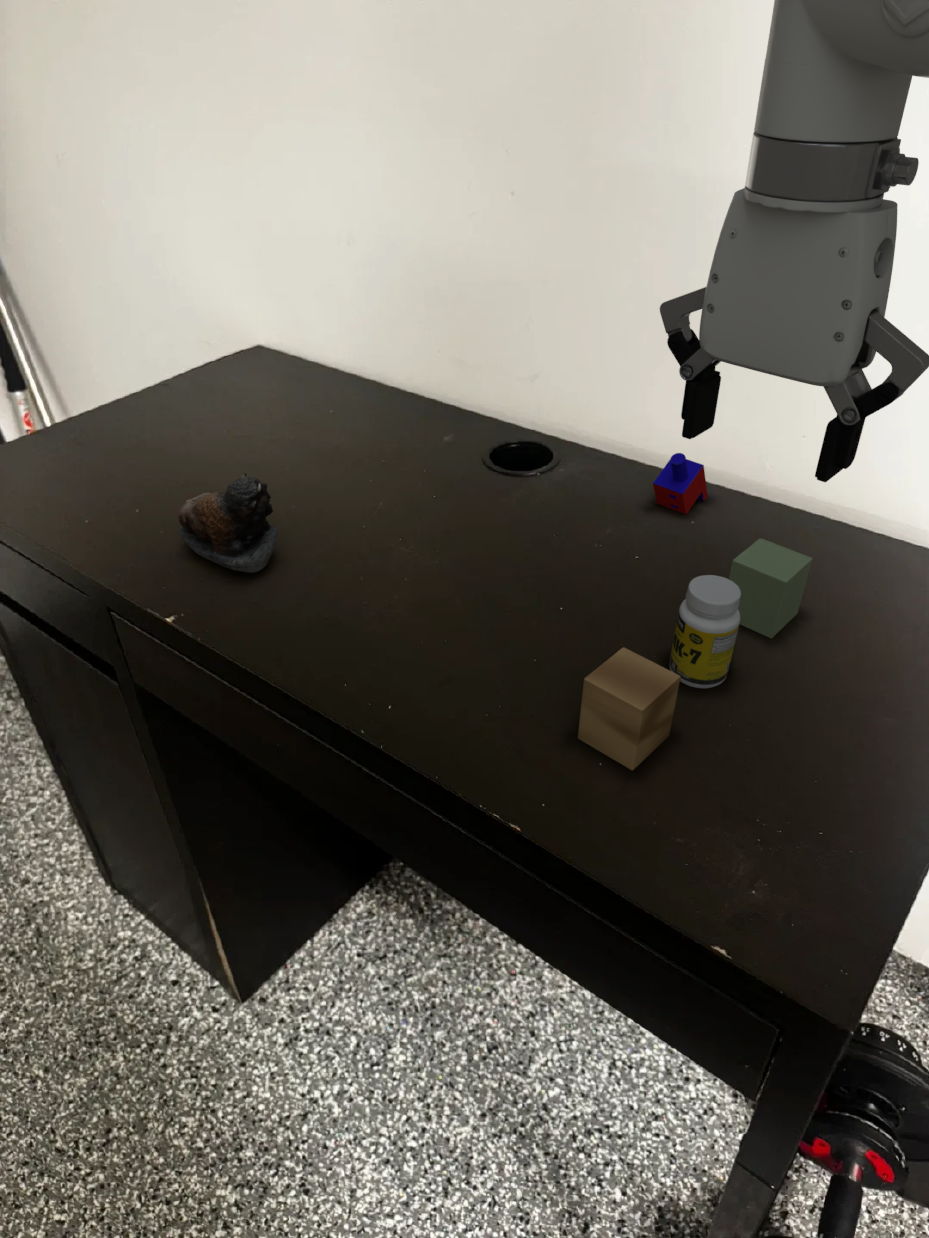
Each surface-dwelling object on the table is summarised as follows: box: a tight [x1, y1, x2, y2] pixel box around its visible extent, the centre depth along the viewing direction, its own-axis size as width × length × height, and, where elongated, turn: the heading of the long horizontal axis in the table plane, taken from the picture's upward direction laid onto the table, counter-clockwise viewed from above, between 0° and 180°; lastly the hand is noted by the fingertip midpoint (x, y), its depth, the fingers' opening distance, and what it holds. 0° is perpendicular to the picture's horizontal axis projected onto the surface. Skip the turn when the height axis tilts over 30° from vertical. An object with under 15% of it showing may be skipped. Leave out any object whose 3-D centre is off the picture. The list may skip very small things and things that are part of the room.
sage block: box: [728, 537, 813, 639], centre depth 78 cm, size 5×5×6 cm
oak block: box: [577, 646, 681, 771], centre depth 66 cm, size 5×5×6 cm
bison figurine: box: [177, 472, 278, 574], centre depth 85 cm, size 12×7×10 cm, turn 50°
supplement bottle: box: [668, 574, 741, 689], centre depth 71 cm, size 5×5×8 cm
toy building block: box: [652, 452, 708, 515], centre depth 94 cm, size 4×4×8 cm
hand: (760, 452), depth 60 cm, fingers open, 9 cm apart
